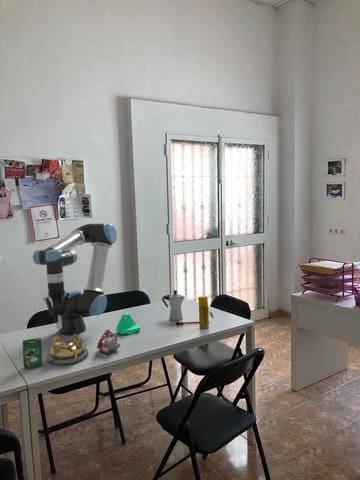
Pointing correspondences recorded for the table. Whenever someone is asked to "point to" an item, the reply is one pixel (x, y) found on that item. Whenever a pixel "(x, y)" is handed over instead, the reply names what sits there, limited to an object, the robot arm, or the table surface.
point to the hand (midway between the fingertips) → (59, 328)
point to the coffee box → (32, 353)
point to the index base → (68, 361)
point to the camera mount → (127, 325)
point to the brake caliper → (108, 343)
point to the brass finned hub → (67, 348)
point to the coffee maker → (174, 305)
